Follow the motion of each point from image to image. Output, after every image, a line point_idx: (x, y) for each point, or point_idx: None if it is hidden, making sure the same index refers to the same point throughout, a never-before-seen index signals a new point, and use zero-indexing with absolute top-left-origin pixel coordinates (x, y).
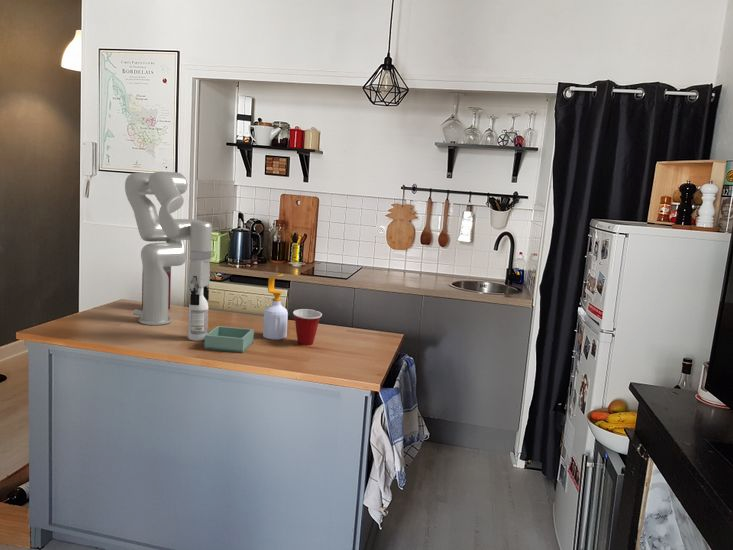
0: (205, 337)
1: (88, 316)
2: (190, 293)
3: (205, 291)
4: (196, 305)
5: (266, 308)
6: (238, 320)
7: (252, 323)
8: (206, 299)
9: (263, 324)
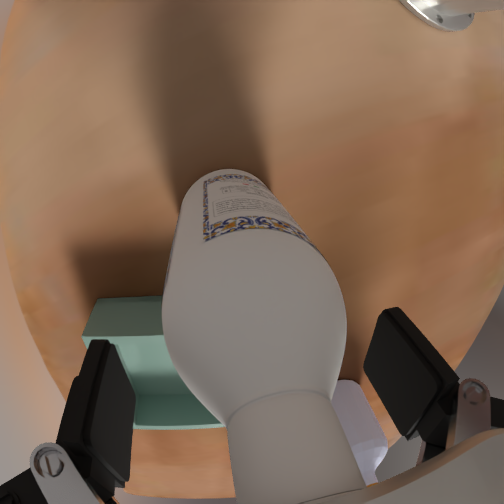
0: (85, 332)
1: None
2: (38, 453)
3: (406, 414)
4: (169, 354)
5: (357, 458)
6: (485, 253)
7: (457, 301)
8: (367, 364)
9: (345, 407)
